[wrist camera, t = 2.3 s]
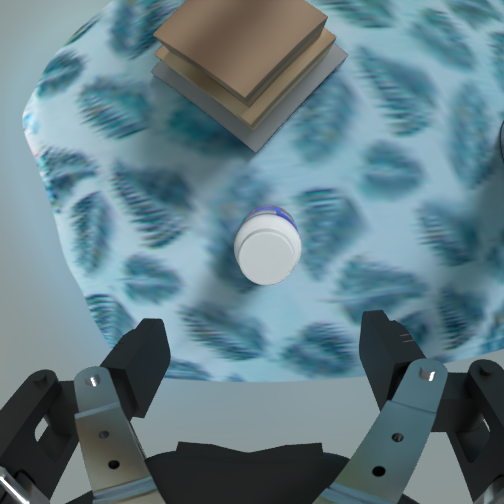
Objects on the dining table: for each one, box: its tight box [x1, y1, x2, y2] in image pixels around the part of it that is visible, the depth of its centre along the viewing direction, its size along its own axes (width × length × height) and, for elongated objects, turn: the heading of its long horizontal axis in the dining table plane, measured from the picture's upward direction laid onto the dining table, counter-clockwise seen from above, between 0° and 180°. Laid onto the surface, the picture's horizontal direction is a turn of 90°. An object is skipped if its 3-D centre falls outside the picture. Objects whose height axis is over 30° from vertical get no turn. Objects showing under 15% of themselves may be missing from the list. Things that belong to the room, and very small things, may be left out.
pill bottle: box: [234, 205, 301, 285], centre depth 26 cm, size 5×5×10 cm
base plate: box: [151, 43, 349, 153], centre depth 25 cm, size 14×14×1 cm
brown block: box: [153, 0, 336, 131], centre depth 21 cm, size 11×11×8 cm
